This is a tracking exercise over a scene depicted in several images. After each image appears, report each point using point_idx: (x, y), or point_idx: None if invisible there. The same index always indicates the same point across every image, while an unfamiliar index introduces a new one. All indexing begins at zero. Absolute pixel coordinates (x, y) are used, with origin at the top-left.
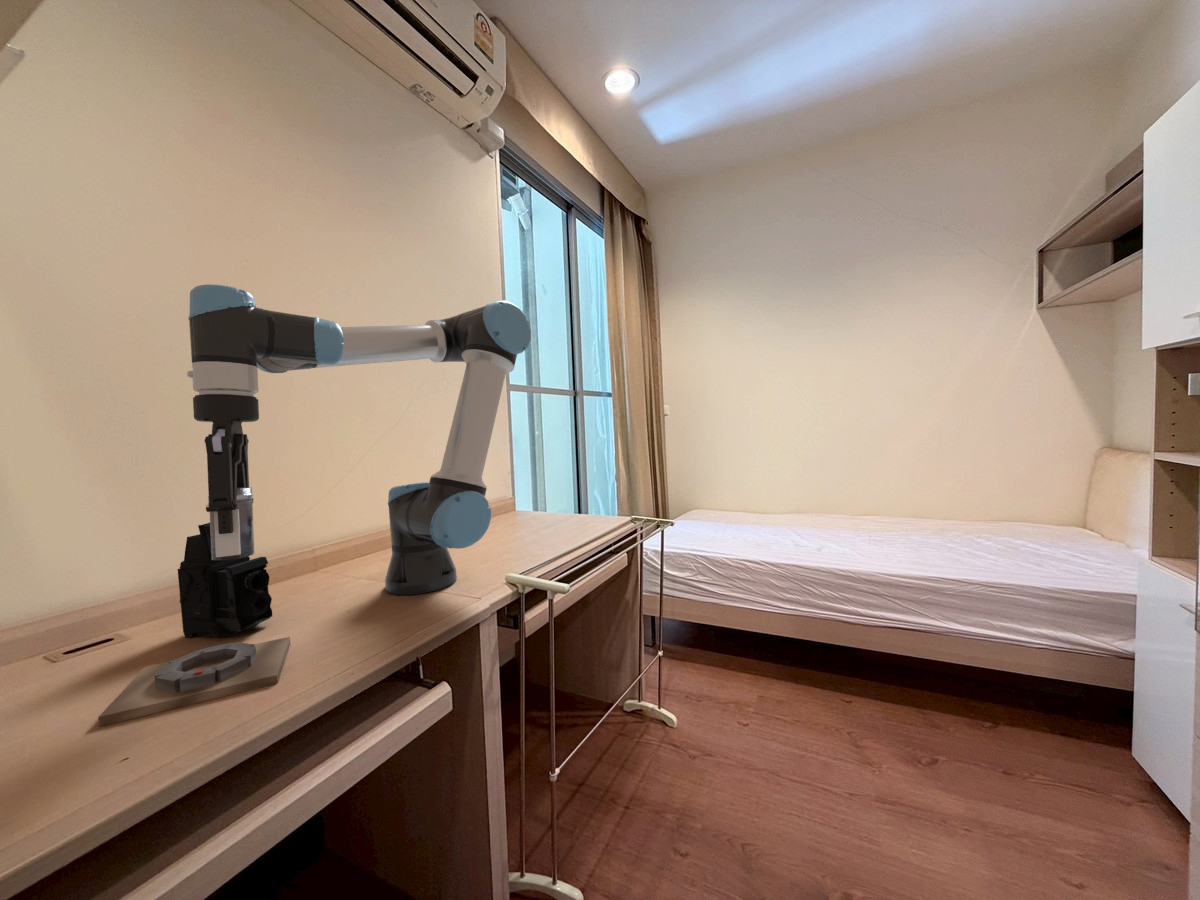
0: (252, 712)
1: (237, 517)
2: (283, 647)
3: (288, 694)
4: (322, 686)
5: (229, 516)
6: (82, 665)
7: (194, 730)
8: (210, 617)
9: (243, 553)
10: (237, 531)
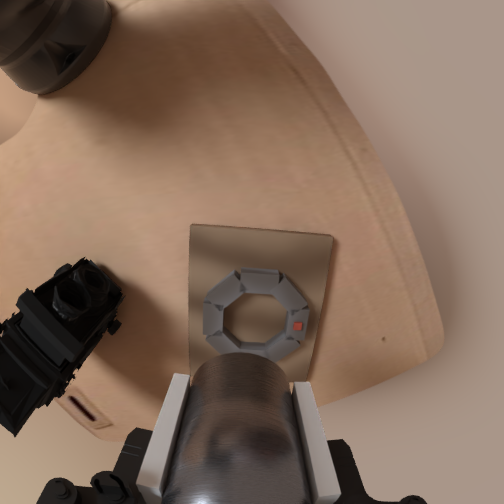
0: (382, 255)
1: (333, 471)
2: (233, 232)
3: (368, 222)
4: (374, 186)
5: (361, 482)
6: (130, 411)
7: (377, 301)
8: (100, 337)
9: (282, 376)
10: (322, 433)
